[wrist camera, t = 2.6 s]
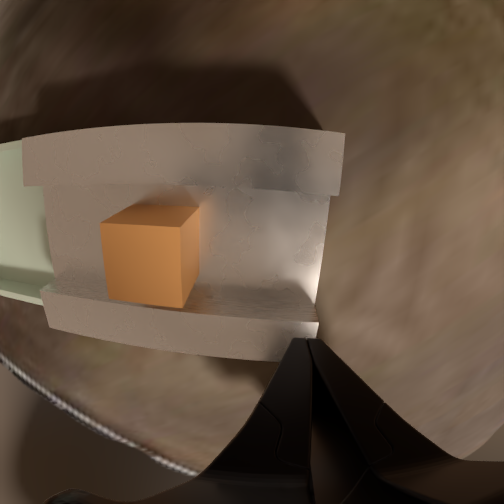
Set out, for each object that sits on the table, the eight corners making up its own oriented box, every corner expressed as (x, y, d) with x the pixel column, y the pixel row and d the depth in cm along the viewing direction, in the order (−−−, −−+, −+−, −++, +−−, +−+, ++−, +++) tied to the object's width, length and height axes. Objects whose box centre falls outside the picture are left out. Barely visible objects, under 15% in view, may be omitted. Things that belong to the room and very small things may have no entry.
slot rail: (303, 319, 22) (310, 363, 18) (81, 295, 23) (49, 327, 18) (325, 134, 18) (345, 133, 13) (66, 134, 18) (21, 138, 14)
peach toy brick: (199, 273, 18) (182, 308, 15) (136, 268, 18) (109, 298, 15) (199, 206, 17) (179, 227, 13) (132, 204, 17) (99, 223, 13)
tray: (76, 294, 23) (61, 309, 21) (-3, 279, 23) (-18, 290, 21) (61, 134, 18) (40, 136, 16) (-20, 149, 19) (-39, 153, 16)
